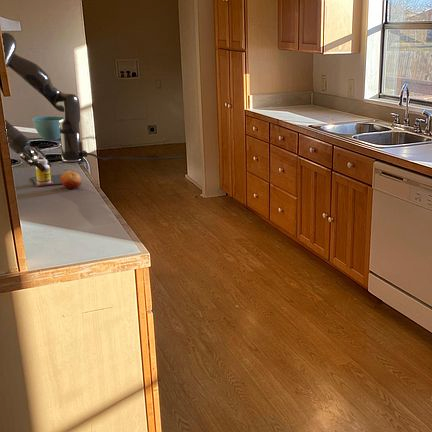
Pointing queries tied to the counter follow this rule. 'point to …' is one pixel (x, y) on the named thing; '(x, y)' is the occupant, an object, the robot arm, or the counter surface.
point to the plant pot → (48, 127)
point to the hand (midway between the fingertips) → (47, 168)
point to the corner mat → (54, 181)
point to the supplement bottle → (43, 173)
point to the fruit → (70, 180)
